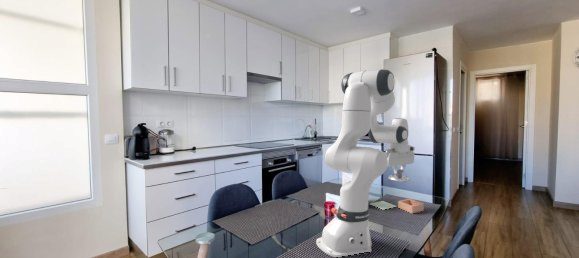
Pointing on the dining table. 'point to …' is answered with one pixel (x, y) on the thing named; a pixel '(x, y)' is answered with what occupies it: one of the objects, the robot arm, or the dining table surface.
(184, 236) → the dining table surface
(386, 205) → the mat
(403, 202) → the orange open box
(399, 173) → the lid
